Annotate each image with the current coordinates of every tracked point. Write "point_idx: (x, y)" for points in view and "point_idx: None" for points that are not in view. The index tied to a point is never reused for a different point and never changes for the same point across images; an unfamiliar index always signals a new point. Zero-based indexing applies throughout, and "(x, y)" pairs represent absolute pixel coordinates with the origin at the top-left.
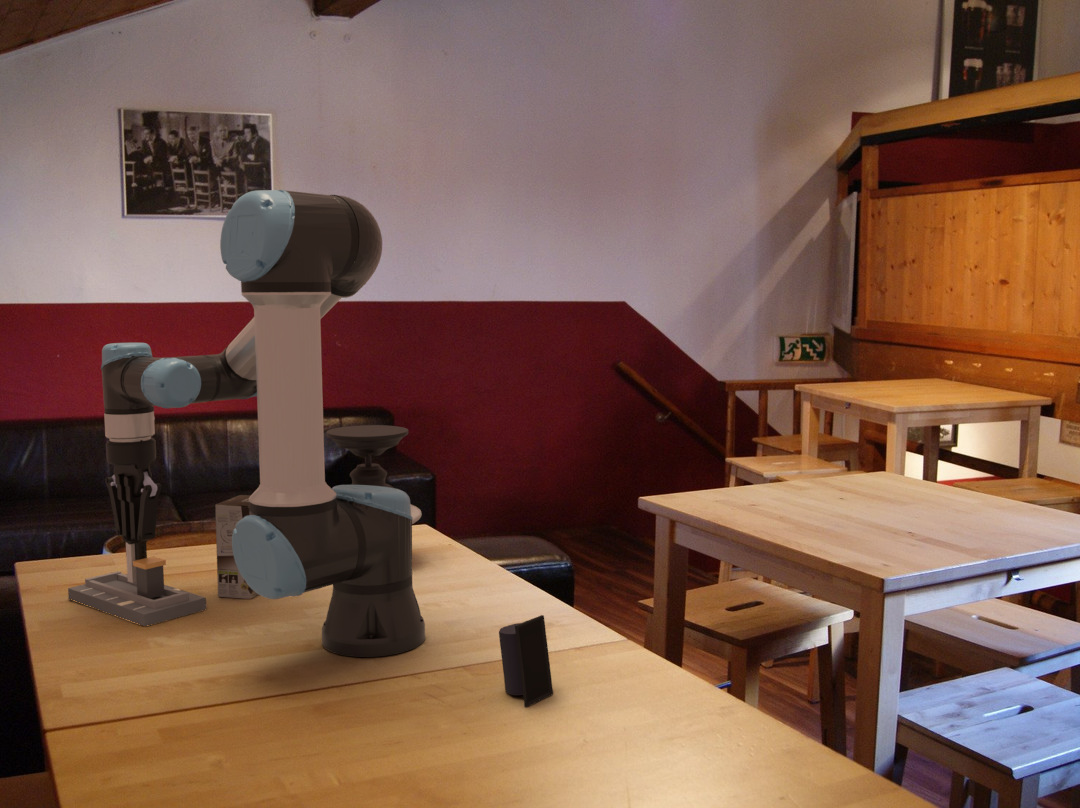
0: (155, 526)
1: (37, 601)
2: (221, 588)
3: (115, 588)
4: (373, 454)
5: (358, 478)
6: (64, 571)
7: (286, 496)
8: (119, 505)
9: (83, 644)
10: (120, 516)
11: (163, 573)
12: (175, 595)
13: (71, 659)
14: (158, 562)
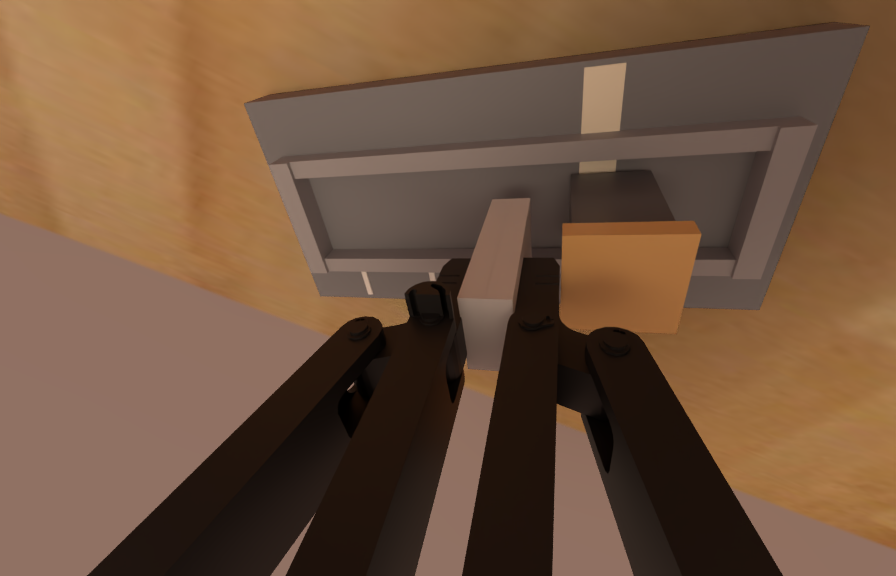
0: (680, 407)
1: (309, 317)
2: None
3: None
4: None
5: None
6: (58, 165)
7: None
8: (277, 537)
9: (697, 409)
10: (334, 461)
11: (669, 209)
12: (780, 188)
13: (760, 457)
14: (689, 270)
